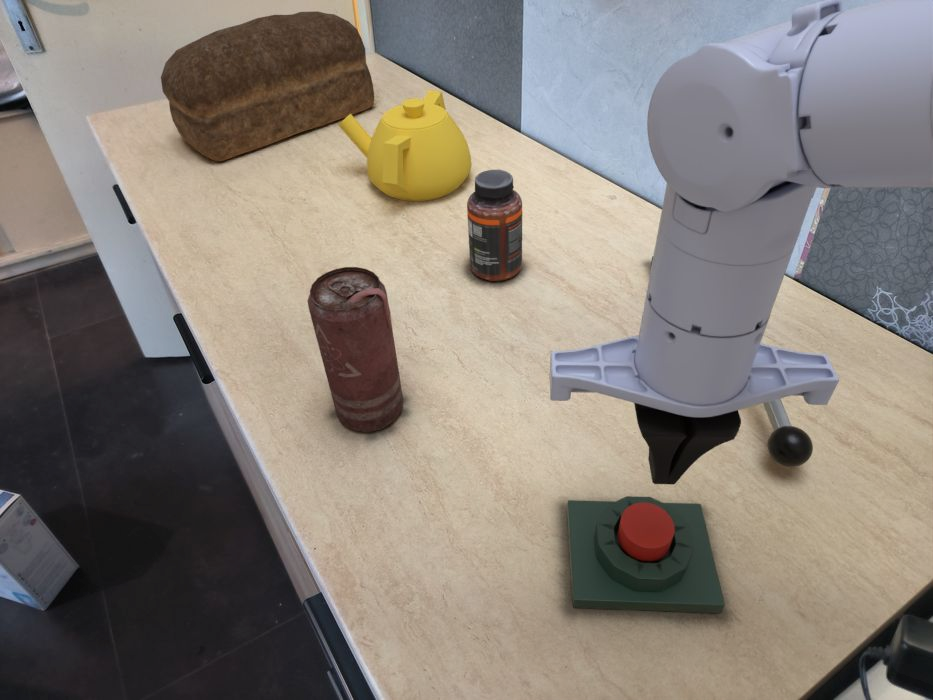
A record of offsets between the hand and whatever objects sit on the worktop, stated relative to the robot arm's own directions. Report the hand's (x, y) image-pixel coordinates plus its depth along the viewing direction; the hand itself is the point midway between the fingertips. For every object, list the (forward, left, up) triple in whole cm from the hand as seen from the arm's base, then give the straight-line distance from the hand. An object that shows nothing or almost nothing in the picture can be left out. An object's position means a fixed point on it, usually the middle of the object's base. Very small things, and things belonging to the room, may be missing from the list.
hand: (661, 471), depth 40 cm
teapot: (+62, -6, -11) cm, 63 cm away
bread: (+90, +4, -11) cm, 91 cm away
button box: (0, 0, -10) cm, 10 cm away
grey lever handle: (+12, -20, -7) cm, 24 cm away
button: (0, 0, -8) cm, 8 cm away
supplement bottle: (+37, -8, -11) cm, 39 cm away
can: (+23, +12, -11) cm, 28 cm away
